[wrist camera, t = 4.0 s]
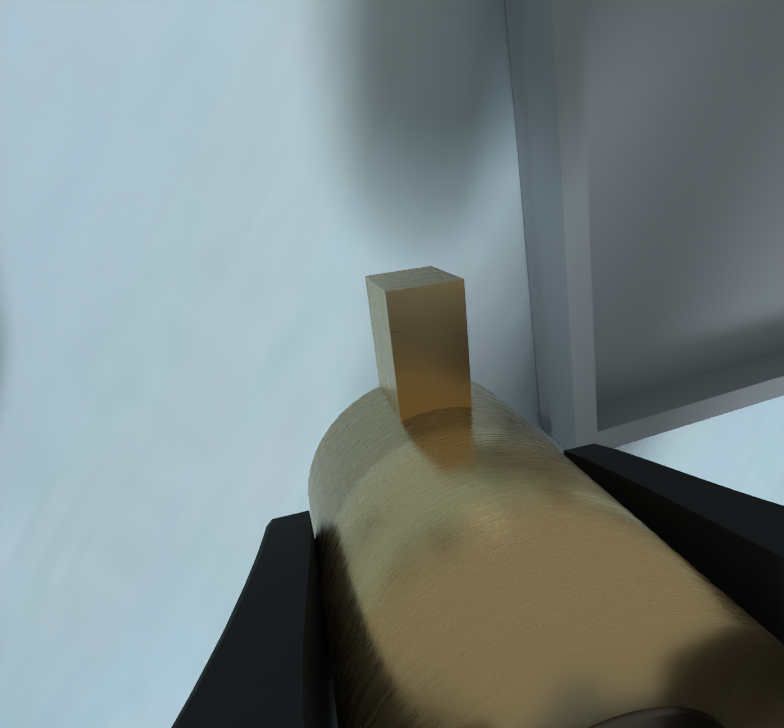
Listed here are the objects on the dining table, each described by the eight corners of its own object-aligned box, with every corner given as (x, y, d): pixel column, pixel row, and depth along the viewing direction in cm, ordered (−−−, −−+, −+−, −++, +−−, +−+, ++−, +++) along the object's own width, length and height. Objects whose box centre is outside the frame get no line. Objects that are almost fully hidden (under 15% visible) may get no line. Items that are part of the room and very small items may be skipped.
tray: (867, 332, 21) (937, 347, 19) (541, 428, 19) (577, 458, 17) (945, -124, 16) (1055, -176, 14) (498, -70, 13) (544, -124, 11)
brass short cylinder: (526, 543, 11) (784, 886, 6) (328, 596, 10) (396, 1061, 5) (519, 252, 9) (932, 337, 3) (265, 291, 8) (254, 490, 3)
